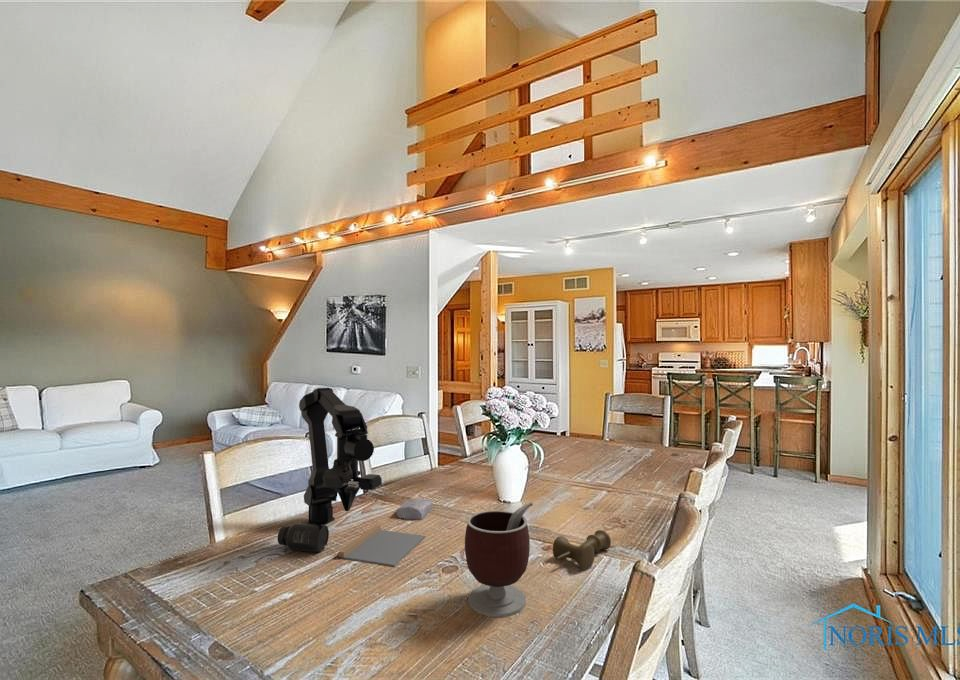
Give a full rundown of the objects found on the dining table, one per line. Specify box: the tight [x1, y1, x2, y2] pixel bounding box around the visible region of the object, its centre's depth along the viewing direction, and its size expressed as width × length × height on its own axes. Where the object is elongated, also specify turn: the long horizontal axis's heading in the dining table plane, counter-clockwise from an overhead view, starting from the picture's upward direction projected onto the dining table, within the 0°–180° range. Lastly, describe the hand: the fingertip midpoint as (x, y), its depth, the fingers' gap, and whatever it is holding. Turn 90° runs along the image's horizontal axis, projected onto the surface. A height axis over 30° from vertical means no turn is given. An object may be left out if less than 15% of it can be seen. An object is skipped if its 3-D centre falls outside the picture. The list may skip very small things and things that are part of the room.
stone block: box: [396, 497, 434, 520], centre depth 156 cm, size 12×5×10 cm
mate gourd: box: [464, 501, 534, 618], centre depth 102 cm, size 16×14×20 cm
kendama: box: [552, 529, 612, 571], centre depth 122 cm, size 6×10×20 cm
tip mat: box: [337, 524, 426, 567], centre depth 129 cm, size 16×19×2 cm
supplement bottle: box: [276, 522, 330, 553], centre depth 127 cm, size 7×7×12 cm
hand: (347, 510), depth 132 cm, fingers closed
